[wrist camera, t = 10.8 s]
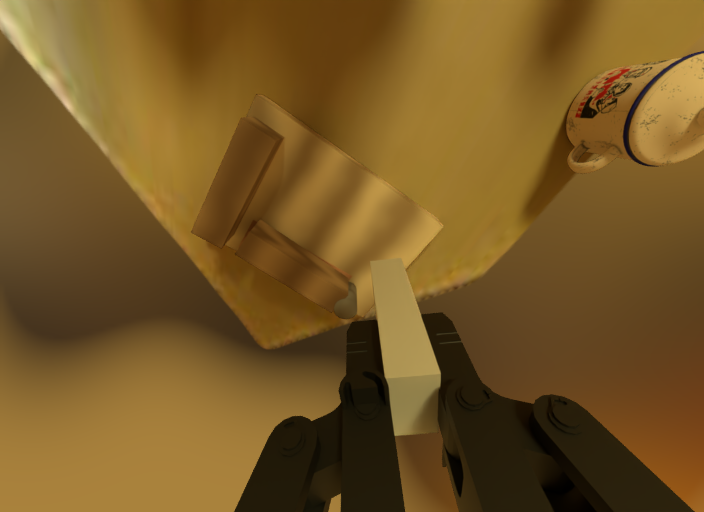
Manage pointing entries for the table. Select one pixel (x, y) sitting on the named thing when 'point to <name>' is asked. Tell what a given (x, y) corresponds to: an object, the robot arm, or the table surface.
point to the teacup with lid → (640, 114)
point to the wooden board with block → (311, 199)
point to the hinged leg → (299, 270)
